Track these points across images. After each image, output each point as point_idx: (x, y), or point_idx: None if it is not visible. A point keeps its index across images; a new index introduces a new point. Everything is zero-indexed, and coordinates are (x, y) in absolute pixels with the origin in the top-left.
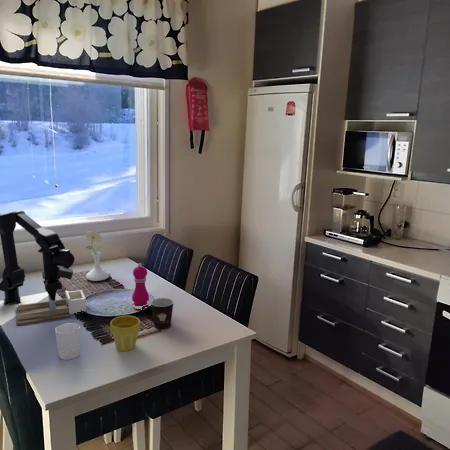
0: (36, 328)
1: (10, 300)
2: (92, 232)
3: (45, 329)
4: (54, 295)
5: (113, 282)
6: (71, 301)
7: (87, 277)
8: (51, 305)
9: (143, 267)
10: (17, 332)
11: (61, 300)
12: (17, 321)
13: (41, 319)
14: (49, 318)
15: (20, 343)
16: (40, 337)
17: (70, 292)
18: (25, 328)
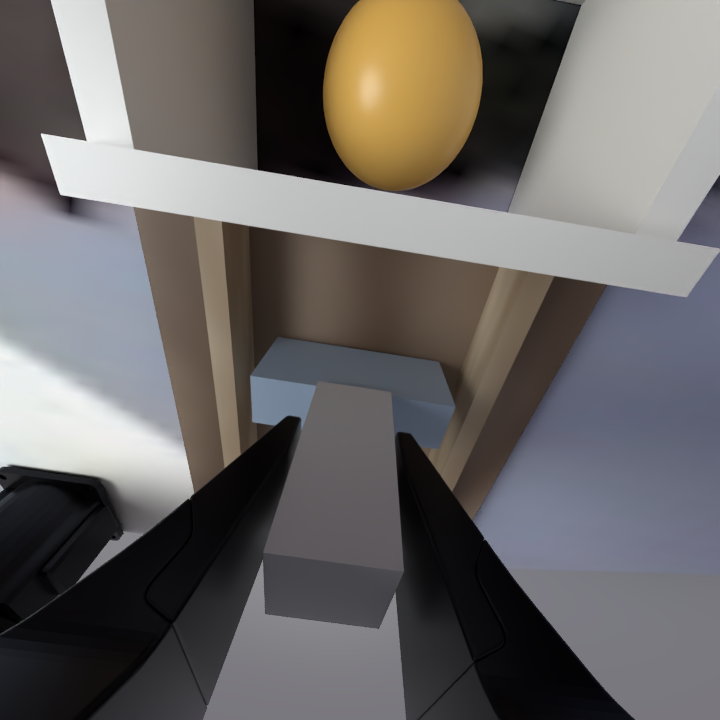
0: (565, 492)
1: (102, 541)
2: None
3: (631, 462)
4: (452, 517)
5: None
6: (667, 217)
7: None
8: (436, 440)
9: None
10: (530, 552)
11: (229, 266)
12: None
13: (499, 469)
14: (523, 427)
15: (667, 564)
16: (709, 502)
17: (123, 61)
18: (513, 524)
